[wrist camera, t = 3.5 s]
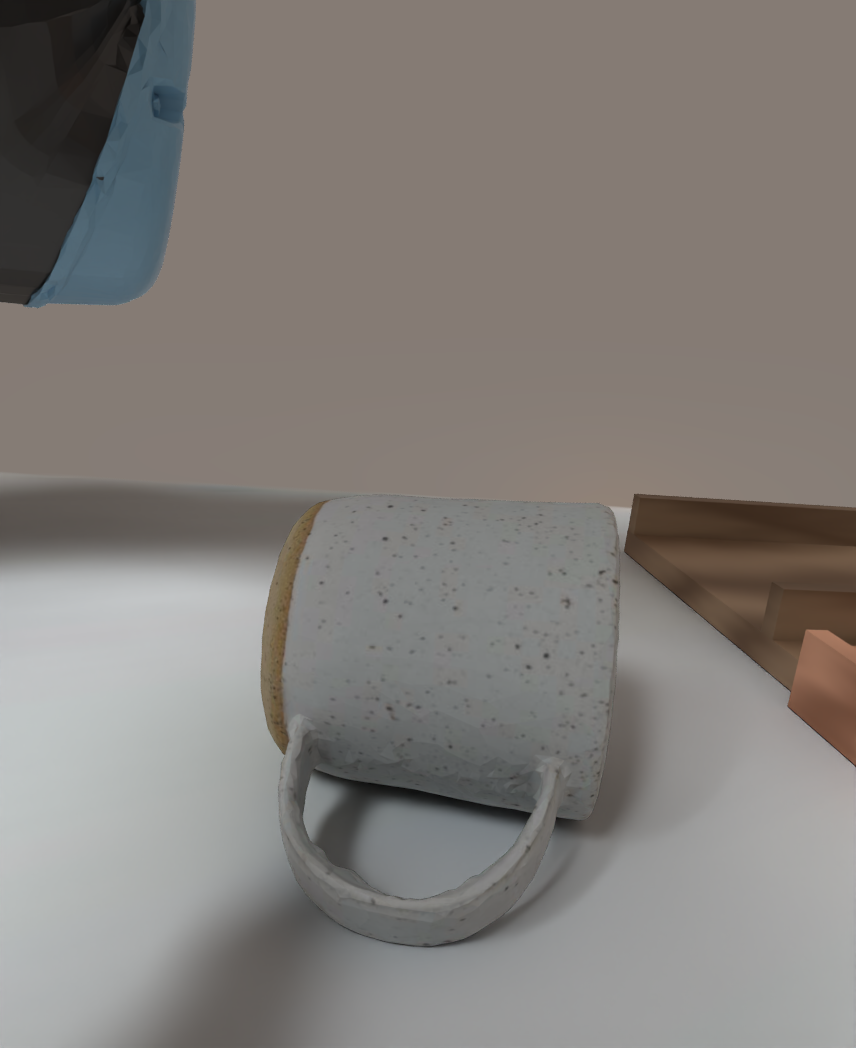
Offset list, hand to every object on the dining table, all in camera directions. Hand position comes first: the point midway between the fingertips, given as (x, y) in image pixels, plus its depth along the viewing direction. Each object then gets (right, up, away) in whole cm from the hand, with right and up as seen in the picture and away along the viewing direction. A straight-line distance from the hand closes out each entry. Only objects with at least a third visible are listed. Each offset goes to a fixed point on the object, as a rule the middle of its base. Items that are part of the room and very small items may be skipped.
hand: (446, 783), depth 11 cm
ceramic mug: (0, -4, +10) cm, 11 cm away
